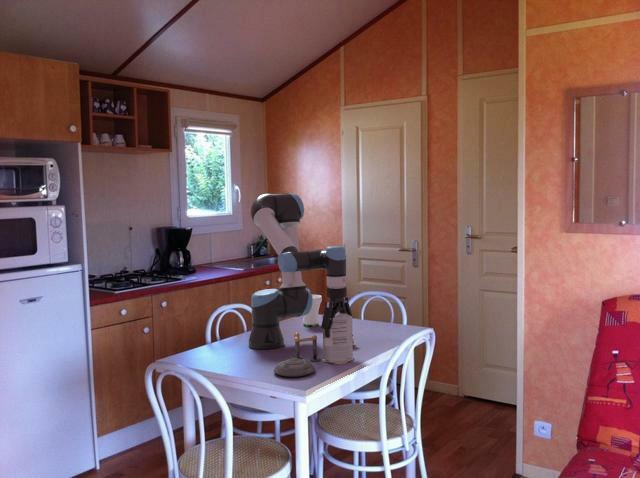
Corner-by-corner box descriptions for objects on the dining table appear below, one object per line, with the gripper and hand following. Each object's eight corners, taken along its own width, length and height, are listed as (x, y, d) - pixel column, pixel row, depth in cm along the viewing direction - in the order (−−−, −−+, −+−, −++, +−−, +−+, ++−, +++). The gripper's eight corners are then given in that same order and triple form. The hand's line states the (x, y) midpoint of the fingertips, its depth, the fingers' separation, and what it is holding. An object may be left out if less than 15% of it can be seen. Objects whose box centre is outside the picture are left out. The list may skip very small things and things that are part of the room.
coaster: (322, 361, 233) (322, 359, 233) (333, 356, 241) (333, 354, 241) (342, 364, 229) (342, 362, 229) (354, 358, 236) (354, 356, 236)
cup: (326, 324, 299) (326, 295, 298) (314, 328, 290) (313, 299, 289) (307, 321, 305) (306, 293, 304) (295, 326, 296) (294, 297, 295)
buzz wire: (282, 362, 234) (281, 336, 233) (296, 356, 242) (295, 331, 241) (308, 366, 228) (307, 340, 227) (321, 359, 236) (320, 334, 235)
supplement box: (322, 356, 238) (321, 313, 236) (344, 354, 241) (344, 311, 239) (330, 362, 229) (329, 318, 227) (353, 360, 231) (352, 316, 230)
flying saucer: (288, 382, 210) (288, 366, 209) (265, 372, 222) (265, 357, 222) (323, 373, 219) (323, 358, 218) (299, 364, 231) (299, 350, 230)
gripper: (328, 292, 220) (330, 350, 222) (360, 282, 241) (361, 335, 243) (311, 291, 224) (312, 348, 225) (343, 281, 245) (344, 333, 247)
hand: (337, 341), depth 234 cm, fingers open, 13 cm apart
